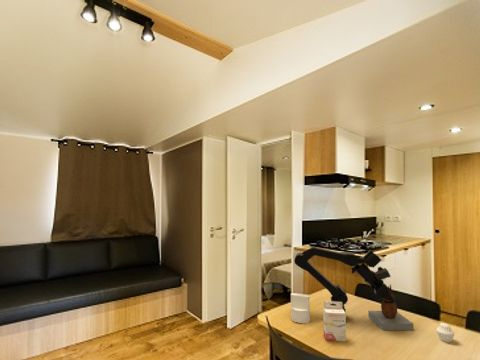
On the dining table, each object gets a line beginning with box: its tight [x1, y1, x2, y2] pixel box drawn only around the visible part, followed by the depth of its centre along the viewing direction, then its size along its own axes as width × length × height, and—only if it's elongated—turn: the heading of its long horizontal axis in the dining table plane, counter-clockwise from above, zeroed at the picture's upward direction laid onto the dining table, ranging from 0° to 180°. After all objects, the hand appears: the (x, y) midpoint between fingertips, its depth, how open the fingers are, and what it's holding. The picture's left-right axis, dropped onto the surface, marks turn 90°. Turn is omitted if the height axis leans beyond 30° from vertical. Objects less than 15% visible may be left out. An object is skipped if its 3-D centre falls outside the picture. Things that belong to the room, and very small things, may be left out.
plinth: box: [367, 310, 414, 331], centre depth 133 cm, size 14×14×3 cm
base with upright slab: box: [290, 292, 311, 324], centre depth 137 cm, size 9×9×12 cm
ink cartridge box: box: [322, 300, 347, 342], centre depth 119 cm, size 9×5×15 cm, turn 84°
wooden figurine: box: [380, 284, 398, 318], centre depth 133 cm, size 7×6×15 cm
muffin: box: [436, 322, 455, 343], centre depth 117 cm, size 6×6×7 cm
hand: (392, 298), depth 133 cm, fingers open, 6 cm apart
